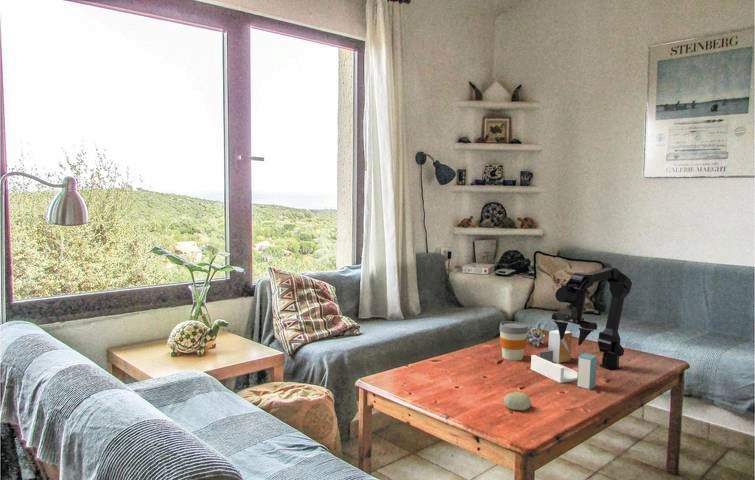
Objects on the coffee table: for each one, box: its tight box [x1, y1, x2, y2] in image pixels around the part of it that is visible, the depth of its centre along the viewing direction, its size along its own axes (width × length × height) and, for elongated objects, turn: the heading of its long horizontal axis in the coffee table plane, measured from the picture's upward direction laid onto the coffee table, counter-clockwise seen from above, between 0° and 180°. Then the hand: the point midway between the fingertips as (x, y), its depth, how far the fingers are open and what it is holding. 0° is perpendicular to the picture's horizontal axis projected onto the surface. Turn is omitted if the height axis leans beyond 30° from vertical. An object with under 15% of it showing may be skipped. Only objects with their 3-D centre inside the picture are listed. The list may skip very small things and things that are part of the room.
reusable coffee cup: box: [499, 321, 529, 361], centre depth 257 cm, size 13×13×15 cm
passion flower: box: [526, 323, 546, 348], centre depth 279 cm, size 11×11×12 cm
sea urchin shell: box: [503, 391, 532, 411], centre depth 200 cm, size 9×8×8 cm
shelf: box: [530, 350, 578, 384], centre depth 235 cm, size 14×18×8 cm
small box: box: [547, 329, 573, 364], centre depth 253 cm, size 8×6×13 cm
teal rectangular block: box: [576, 352, 598, 391], centre depth 221 cm, size 6×5×12 cm
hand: (570, 342), depth 230 cm, fingers open, 9 cm apart
